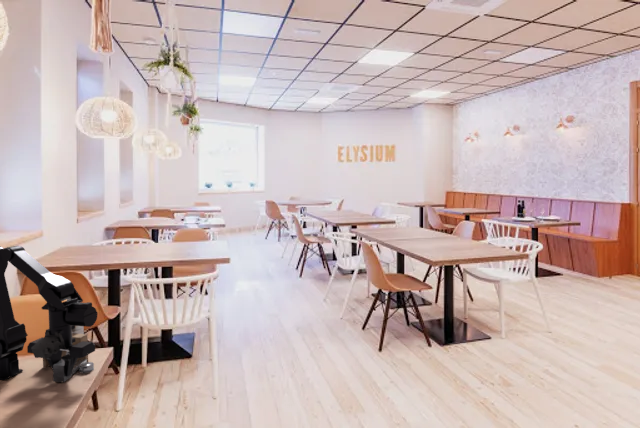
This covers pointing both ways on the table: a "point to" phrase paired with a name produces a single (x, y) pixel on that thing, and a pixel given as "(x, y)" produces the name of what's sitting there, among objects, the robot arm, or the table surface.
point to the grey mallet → (59, 370)
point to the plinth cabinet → (78, 339)
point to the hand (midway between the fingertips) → (62, 375)
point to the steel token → (86, 367)
